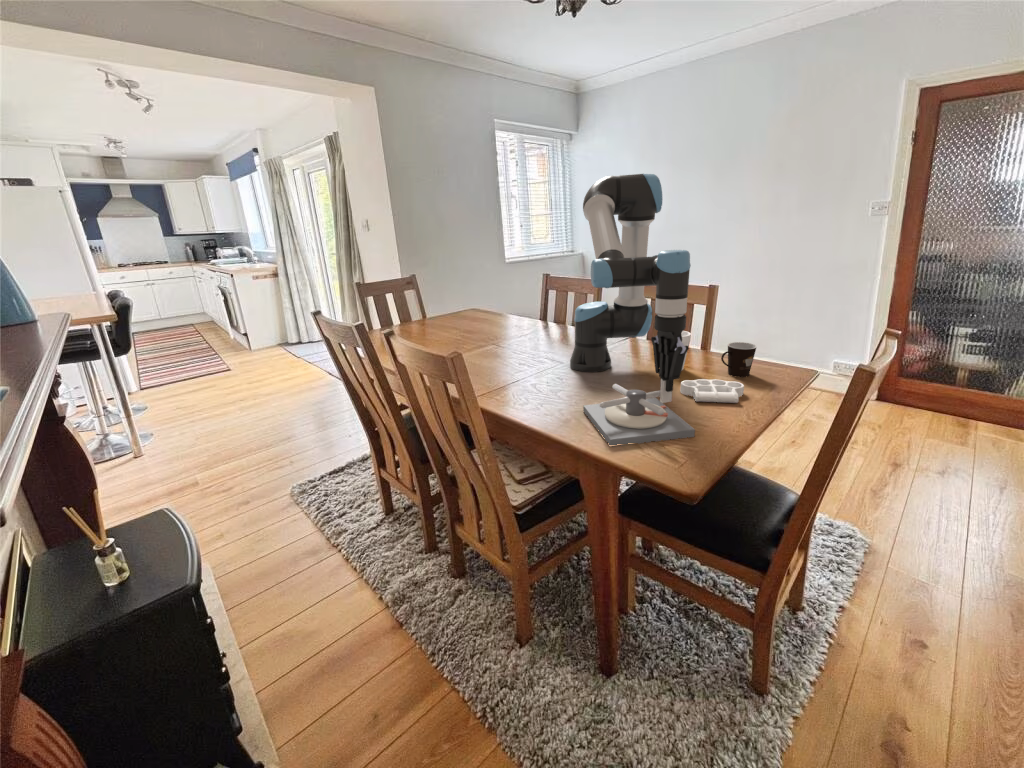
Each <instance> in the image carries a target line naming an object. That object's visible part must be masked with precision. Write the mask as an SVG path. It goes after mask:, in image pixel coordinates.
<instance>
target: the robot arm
mask: <svg viewBox="0 0 1024 768" xmlns="http://www.w3.org/2000/svg"><path fill="white" fill-rule="evenodd" d="M583 199H584V200H583V203H582V211H583V212H582V213H583V215H584V217H585V220H587V221H588V225H589V230H590V235H591V240H592V241H591V242H592V245H593V250H594V256H595V259H593V260H592V262H591V263H590V282H591V286H592V287H594V288H595V289H596V288H598V289H599V288H600V289H601V288H602V289H604V288H605V289H611V288H613V289H614V288H615V289H616V288H618V295H617V296H616V297H615V298H614V300H613V305H609V304H608V302H607V301H593V302H586V303H583V304H581V305H578V306H577V307H576V309H575V311H574V320H573V321H574V347H573V350H572V353H571V356H570V360H569V364H570V365H569V366H570V368H571V369H572V370H575V371H578V372H584V373H585V372H586V373H587V372H588V373H593V372H595V373H596V372H603V371H607V370H609V369H611V367H612V358H611V355H610V352H609V347H608V343H607V342H608V341H607V340H608V339H619V338H627V339H628V338H632V339H634V338H638V337H639V338H641V337H645V336H646V335H647V334H648V333H649V331H650V329H651V325H652V322H653V315H652V314H653V309H652V306H651V304H650V303H649V302H648V301H649V300H648V298H646V296H645V287H648V286H649V287H652V286H653V287H655V291H656V292H655V302H654V303H655V305H654V313H655V316H654V327H653V328H654V330H656V331H657V333H656V336H652V337H651V339H650V340H651V344H652V350H653V357H654V359H653V361H654V368H655V373H656V374H658V377H659V378H660V380H659V381H660V383H659V384H660V385H659V387H660V396H659V401H660V402H662V403H663V404H665V403H671V402H672V401H673V400H672V399H673V390H674V382H675V381H674V380H679V379H680V378H681V377H680V376H681V374H682V373H681V372H682V371H683V370H682V366H683V362H684V358H685V354H686V352H687V353H688V351H689V346H684V345H683V343H682V335H681V333H682V331H686V327H687V326H686V325H687V315H686V313H687V309H688V307H687V306H688V294H689V285H690V284H689V282H690V271H691V253H690V252H689V251H688V250H686V249H669V250H668V249H667V250H662V251H660V252H658V254H656V255H652V256H648V246H649V245H648V244H649V232H650V225H651V223H653V222H654V220H655V216H656V214H659V213H660V212H661V211H662V207H663V187H662V184H661V181H660V178H659V176H658V175H656V174H654V173H636V174H634V173H633V174H622V175H621V174H620V175H609V176H608V175H607V176H604V177H602V178H600V179H598V180H597V181H596V182H594V184H592V186H591V187H590V188H589V189H588V190H587V192H586V194H585V196H584V198H583ZM616 215H617V221H618V222H619V224H621V225H622V228H621V229H622V230H621V239H620V234H619V230H618V228H617V227H618V226H617V222H616V220H615V219H616V218H615V216H616ZM681 370H682V371H681Z"/></svg>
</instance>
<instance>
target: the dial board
mask: <svg viewBox="0 0 1024 768" xmlns="http://www.w3.org/2000/svg"><path fill="white" fill-rule="evenodd" d="M646 401H648V402H650V403H652V404H655V405H658V406H660V407H662V408H663V409H664V410H665V411H666V413H668V417H667V419H666V421H665V422H664V423H663V424H661V425H659V426H656V427H652V428H644V429H636V428H627V427H622V426H618V425H616V424H613V423H611V422H610V421H608V420H607V419H606V417H605V409H606V408H601V407H600V403H594V404H593V403H592V404H584V405H582V406H583V410H582V411H584V412H585V413H584V412H583V413H584V415H585V414H586V415H587V416H588V417H587V416H586V415H585V416H586V417H587V419H588V418H589V419H590V420H591V421H590V420H589V419H588V420H589V421H590V423H591V422H592V423H593V424H594V425H595V426H594V425H593V424H592V423H591V424H592V425H593V426H594V428H595V427H596V428H597V429H598V430H599V432H600V433H601V434H602V435H603V437H604V438H605V440H606V441H607V442H608V443H609V445H617V444H628V443H638V444H645V443H644V442H646V443H652V442H651V441H655V442H660V441H661V440H663V441H670V439H671V440H679V439H678V438H680V439H686V438H687V437H688V438H694V437H695V433H696V429H695V428H694V427H693V426H691V425H690V424H689V423H688V422H687V421H685V420H684V419H683V418H682V417H680V416H679V415H678V414H677V413H675V411H673V410H672V409H671V408H669V407H668V406H667V405H665V403H662V402H660V399H658V397H655V398H650V399H646ZM596 428H595V429H596ZM597 429H596V430H597ZM598 430H597V431H598ZM599 432H598V433H599ZM600 433H599V434H600ZM601 434H600V435H601ZM603 437H602V438H603ZM604 438H603V439H604ZM605 440H604V441H605ZM606 441H605V442H606ZM607 442H606V443H607ZM661 442H662V441H661ZM609 445H608V446H609Z"/></svg>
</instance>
